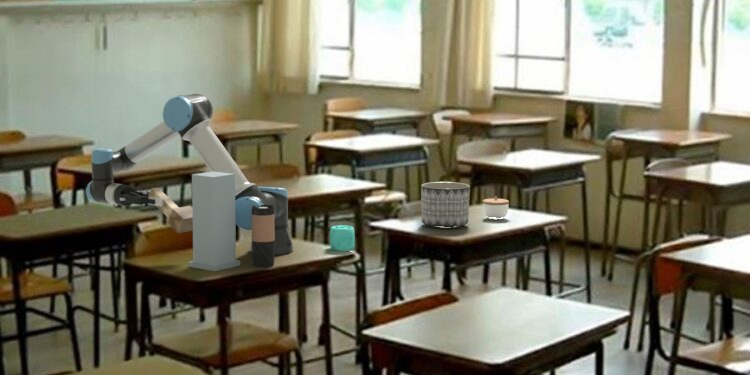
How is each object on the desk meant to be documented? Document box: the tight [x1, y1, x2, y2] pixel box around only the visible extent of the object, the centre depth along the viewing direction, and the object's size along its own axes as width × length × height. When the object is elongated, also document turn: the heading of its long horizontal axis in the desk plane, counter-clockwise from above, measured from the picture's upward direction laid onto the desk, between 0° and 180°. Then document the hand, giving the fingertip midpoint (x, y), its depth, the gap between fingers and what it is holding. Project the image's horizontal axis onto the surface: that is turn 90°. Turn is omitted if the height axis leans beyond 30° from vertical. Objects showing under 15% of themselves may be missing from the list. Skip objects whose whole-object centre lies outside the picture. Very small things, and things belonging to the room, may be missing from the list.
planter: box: [420, 181, 471, 227], centre depth 488 cm, size 19×19×16 cm
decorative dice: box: [329, 224, 356, 252], centre depth 442 cm, size 8×8×8 cm
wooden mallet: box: [148, 187, 193, 234], centre depth 421 cm, size 20×8×6 cm
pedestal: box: [188, 171, 241, 272], centre depth 409 cm, size 12×12×31 cm
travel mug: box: [251, 205, 275, 268], centre depth 412 cm, size 8×8×20 cm
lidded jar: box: [482, 195, 510, 218], centre depth 506 cm, size 11×11×9 cm
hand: (166, 201), depth 422 cm, fingers closed on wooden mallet, 3 cm apart
